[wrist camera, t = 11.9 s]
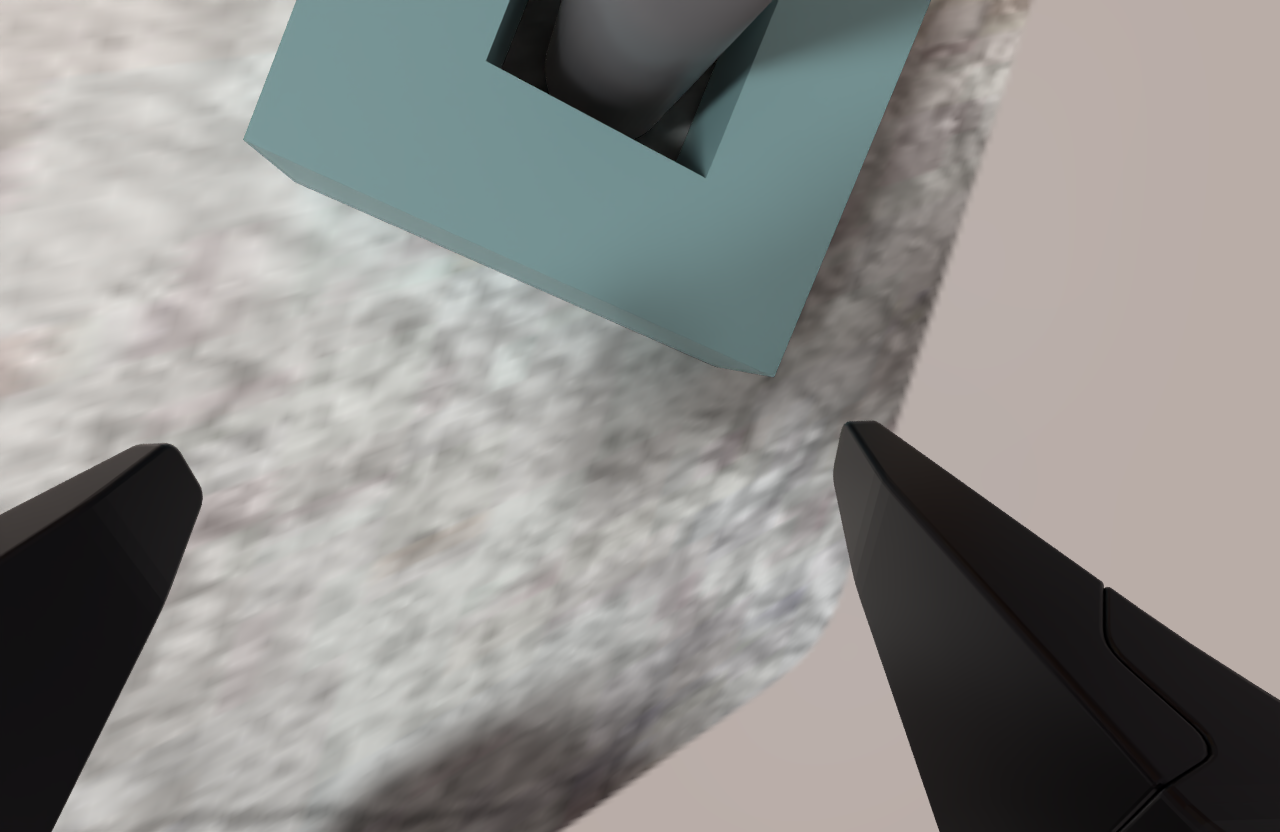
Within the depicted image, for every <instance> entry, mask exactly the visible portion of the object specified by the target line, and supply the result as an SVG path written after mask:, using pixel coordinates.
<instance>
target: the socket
mask: <svg viewBox="0 0 1280 832" xmlns="http://www.w3.org/2000/svg"><path fill="white" fill-rule="evenodd" d="M930 1H931V0H773V1H772V2H771V3H770V4H769V5H768V6H767V7H766V8H765V9H764V10H763V11H762V12H761V13H760V14H759V15H758V16H757V17H756V18H755V20H754V21H753V22H752V23H751V24H750V25H749V26H748V27H747V28H746V29H745V30H744V31H743V32H742V33H741V34H740V35H739V36H738V37H737V38H736V40H735V41H734V42H733V43H732V44H731V45H730V46H729V47H728V48H727V49H726V50H725V51H724V52H723V53H722V54H721V55H720V56H719V57H718V60H717V62H716V65H715V67H714V70H713V72H712V75H711V77H710V79H709V82H708V84H707V87H706V89H705V92H704V94H703V97H702V99H701V102H700V104H699V107H698V109H697V111H696V114H695V116H694V119H693V121H692V124H691V126H690V129H689V131H688V134H687V136H686V139H685V141H684V143H683V146H682V148H681V151H680V153H679V156H678V158H677V161H676V162H674V161H672V160H671V159H669V158H667V157H665V156H663V155H661V154H659V153H657V152H656V151H654V150H652V149H650V148H648V147H646V146H644V145H642V144H641V143H639V142H637V141H635V140H633V139H631V138H629V137H627V136H626V135H624V134H622V133H620V132H618V131H616V130H614V129H612V128H611V127H609V126H607V125H605V124H603V123H601V122H599V121H597V120H596V119H594V118H592V117H590V116H588V115H586V114H584V113H582V112H581V111H579V110H577V109H575V108H573V107H571V106H569V105H567V104H566V103H564V102H562V101H560V100H558V99H556V98H554V97H552V96H551V95H549V94H547V93H545V92H543V91H541V90H539V89H537V88H536V87H534V86H532V85H530V84H528V83H526V82H524V81H522V80H521V79H519V78H517V77H515V76H513V75H511V74H509V73H507V72H506V71H504V70H502V69H501V67H502V65H503V62H504V60H505V57H506V55H507V52H508V50H509V47H510V45H511V42H512V40H513V37H514V35H515V32H516V30H517V27H518V24H519V22H520V19H521V17H522V14H523V12H524V9H525V7H526V4H527V2H528V0H296V3H295V6H294V8H293V11H292V14H291V16H290V19H289V21H288V24H287V27H286V29H285V32H284V34H283V37H282V40H281V42H280V45H279V47H278V50H277V53H276V55H275V58H274V61H273V63H272V66H271V68H270V71H269V74H268V76H267V79H266V81H265V84H264V87H263V89H262V92H261V94H260V97H259V100H258V102H257V105H256V108H255V110H254V113H253V115H252V118H251V121H250V123H249V126H248V128H247V131H246V134H245V136H244V139H243V140H244V141H245V142H246V143H248V144H249V145H250V146H251V147H253V148H254V149H255V150H256V151H257V152H259V153H260V154H261V155H262V156H264V157H265V158H266V159H267V160H268V161H270V162H271V163H272V164H273V165H275V166H276V167H277V168H278V169H280V170H281V171H282V172H283V173H284V174H286V175H287V176H288V177H289V178H291V179H292V180H293V181H294V182H296V183H298V184H301V185H303V186H305V187H307V188H310V189H312V190H314V191H317V192H319V193H321V194H323V195H326V196H328V197H330V198H332V199H335V200H337V201H339V202H342V203H344V204H346V205H348V206H351V207H353V208H355V209H358V210H360V211H362V212H364V213H367V214H369V215H371V216H373V217H376V218H378V219H380V220H383V221H385V222H387V223H389V224H392V225H394V226H396V227H399V228H401V229H403V230H405V231H408V232H410V233H412V234H414V235H417V236H419V237H421V238H424V239H426V240H428V241H430V242H433V243H435V244H437V245H439V246H442V247H444V248H446V249H449V250H451V251H453V252H455V253H458V254H460V255H462V256H465V257H467V258H469V259H471V260H474V261H476V262H478V263H480V264H483V265H485V266H487V267H490V268H492V269H494V270H496V271H499V272H501V273H503V274H506V275H508V276H510V277H512V278H515V279H517V280H519V281H521V282H524V283H526V284H528V285H531V286H533V287H535V288H537V289H540V290H542V291H544V292H547V293H549V294H551V295H553V296H556V297H558V298H560V299H562V300H565V301H567V302H569V303H572V304H574V305H576V306H578V307H581V308H583V309H585V310H587V311H590V312H592V313H594V314H597V315H599V316H601V317H603V318H606V319H608V320H610V321H613V322H615V323H617V324H619V325H622V326H624V327H626V328H628V329H631V330H633V331H635V332H638V333H640V334H642V335H644V336H647V337H649V338H651V339H654V340H656V341H658V342H660V343H663V344H665V345H667V346H669V347H672V348H674V349H676V350H679V351H681V352H683V353H685V354H688V355H690V356H692V357H694V358H697V359H699V360H701V361H704V362H706V363H708V364H710V365H713V366H715V367H720V368H725V369H731V370H736V371H742V372H748V373H753V374H759V375H764V376H770V377H774V376H775V374H776V372H777V369H778V367H779V364H780V362H781V360H782V357H783V355H784V352H785V350H786V348H787V345H788V343H789V340H790V338H791V336H792V333H793V331H794V328H795V326H796V323H797V321H798V319H799V316H800V314H801V311H802V309H803V307H804V304H805V302H806V299H807V297H808V295H809V292H810V290H811V287H812V285H813V283H814V280H815V278H816V275H817V273H818V271H819V268H820V266H821V263H822V261H823V259H824V256H825V254H826V251H827V249H828V247H829V244H830V242H831V239H832V237H833V235H834V232H835V230H836V227H837V225H838V223H839V220H840V218H841V215H842V213H843V211H844V208H845V206H846V203H847V201H848V199H849V196H850V194H851V191H852V189H853V186H854V184H855V182H856V179H857V177H858V174H859V172H860V170H861V167H862V165H863V162H864V160H865V158H866V155H867V153H868V150H869V148H870V146H871V143H872V141H873V138H874V136H875V134H876V131H877V129H878V126H879V124H880V122H881V119H882V117H883V114H884V112H885V110H886V107H887V105H888V102H889V100H890V98H891V95H892V93H893V90H894V88H895V86H896V83H897V81H898V78H899V76H900V74H901V71H902V69H903V66H904V64H905V62H906V59H907V57H908V54H909V52H910V49H911V47H912V45H913V42H914V40H915V37H916V35H917V33H918V30H919V28H920V25H921V23H922V21H923V18H924V16H925V13H926V11H927V9H928V6H929V4H930Z"/></svg>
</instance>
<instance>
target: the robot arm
mask: <svg viewBox="0 0 1280 832" xmlns="http://www.w3.org/2000/svg"><path fill="white" fill-rule="evenodd" d="M833 480H834V487H835V492H836V496H837V501H838V506H839V511H840V515H841V520H842V525H843V530H844V534H845V539H846V544H847V549H848V554H849V558H850V563H851V568H852V572H853V576H854V580H855V584H856V587H857V591H858V594H859V597H860V600H861V603H862V606H863V609H864V612H865V615H866V618H867V620H868V624H869V626H870V629H871V632H872V635H873V638H874V641H875V644H876V647H877V650H878V653H879V656H880V659H881V662H882V664H883V667H884V670H885V673H886V676H887V679H888V682H889V685H890V688H891V691H892V694H893V697H894V700H895V703H896V706H897V708H898V711H899V714H900V717H901V720H902V723H903V726H904V729H905V732H906V735H907V738H908V741H909V743H910V746H911V750H912V752H913V755H914V758H915V761H916V764H917V767H918V770H919V773H920V776H921V779H922V782H923V785H924V788H925V790H926V793H927V796H928V799H929V802H930V805H931V808H932V811H933V814H934V817H935V820H936V823H937V826H938V828H939V831H940V832H1280V700H1279V699H1277V698H1276V697H1274V696H1272V695H1271V694H1269V693H1268V692H1266V691H1264V690H1263V689H1261V688H1259V687H1258V686H1256V685H1255V684H1253V683H1252V682H1250V681H1248V680H1247V679H1245V678H1244V677H1242V676H1241V675H1239V674H1237V673H1236V672H1234V671H1233V670H1231V669H1230V668H1228V667H1226V666H1225V665H1223V664H1222V663H1220V662H1219V661H1217V660H1216V659H1214V658H1213V657H1211V656H1209V655H1208V654H1206V653H1205V652H1203V651H1202V650H1200V649H1199V648H1197V647H1195V646H1194V645H1192V644H1190V643H1189V642H1188V641H1186V640H1185V639H1184V638H1182V637H1181V636H1179V635H1178V634H1176V633H1175V632H1173V631H1172V630H1170V629H1169V628H1167V627H1166V626H1165V625H1163V624H1162V623H1160V622H1159V621H1157V620H1156V619H1154V618H1153V617H1151V616H1150V615H1148V614H1147V613H1146V612H1144V611H1143V610H1141V609H1140V608H1138V607H1137V606H1136V605H1134V604H1133V603H1131V602H1130V601H1129V600H1127V599H1126V598H1124V597H1123V596H1122V595H1120V594H1119V593H1117V592H1116V591H1114V590H1113V589H1112V588H1110V587H1106V588H1104V585H1103V582H1102V581H1100V580H1099V579H1097V578H1096V577H1095V576H1093V575H1092V574H1090V573H1089V572H1088V571H1086V570H1085V569H1083V568H1082V567H1081V566H1079V565H1078V564H1076V563H1075V562H1074V561H1072V560H1071V559H1069V558H1068V557H1066V556H1065V555H1064V554H1062V553H1061V552H1059V551H1058V550H1057V549H1055V548H1054V547H1052V546H1051V545H1050V544H1048V543H1047V542H1045V541H1044V540H1043V539H1041V538H1040V537H1038V536H1037V535H1036V534H1034V533H1033V532H1031V531H1030V530H1029V529H1027V528H1026V527H1024V526H1023V525H1021V524H1020V523H1019V522H1017V521H1016V520H1015V519H1013V518H1012V517H1010V516H1009V515H1008V514H1006V513H1005V512H1003V511H1002V510H1000V509H999V508H998V507H996V506H995V505H994V504H992V503H991V502H989V501H988V500H986V499H985V498H984V497H982V496H981V495H980V494H978V493H977V492H975V491H974V490H972V489H971V488H970V487H968V486H967V485H965V484H964V483H963V482H961V481H960V480H958V479H957V478H955V477H954V476H953V475H951V474H950V473H949V472H947V471H946V470H944V469H943V468H942V467H940V466H939V465H937V464H936V463H935V462H933V461H932V460H930V459H929V458H928V457H926V456H925V455H923V454H922V453H921V452H919V451H918V450H916V449H915V448H914V447H912V446H911V445H909V444H908V443H907V442H905V441H903V440H902V439H901V438H900V437H898V436H897V435H895V434H894V433H893V432H891V431H890V430H888V429H887V428H885V427H884V426H883V425H881V424H880V423H878V422H876V421H849V422H847V423H845V424H844V425H843V427H842V430H841V434H840V438H839V443H838V448H837V453H836V458H835V463H834V469H833ZM202 500H203V495H202V489H201V487H200V484H199V483H198V481H197V479H196V478H195V476H194V474H193V473H192V471H191V469H190V468H189V466H188V464H187V462H186V461H185V459H184V457H183V456H182V454H181V452H180V451H179V450H178V449H177V448H176V447H175V446H173V445H171V444H167V443H156V444H139V445H135V446H133V447H131V448H129V449H127V450H125V451H123V452H121V453H119V454H117V455H115V456H113V457H112V458H110V459H108V460H106V461H104V462H102V463H100V464H98V465H96V466H94V467H92V468H90V469H88V470H86V471H84V472H82V473H80V474H78V475H77V476H75V477H73V478H71V479H69V480H67V481H65V482H63V483H61V484H59V485H57V486H55V487H53V488H51V489H49V490H47V491H45V492H43V493H41V494H40V495H38V496H36V497H34V498H32V499H30V500H28V501H26V502H24V503H22V504H20V505H18V506H16V507H14V508H12V509H10V510H8V511H6V512H5V513H3V514H1V515H0V832H52V830H53V828H54V826H55V824H56V822H57V820H58V818H59V816H60V814H61V812H62V810H63V808H64V806H65V804H66V802H67V800H68V798H69V796H70V794H71V792H72V790H73V788H74V786H75V784H76V782H77V780H78V778H79V776H80V774H81V772H82V770H83V768H84V766H85V764H86V762H87V760H88V758H89V756H90V754H91V752H92V750H93V748H94V746H95V744H96V742H97V740H98V738H99V736H100V734H101V732H102V730H103V728H104V726H105V724H106V722H107V720H108V718H109V716H110V714H111V712H112V710H113V708H114V705H115V703H116V701H117V699H118V697H119V695H120V693H121V691H122V689H123V687H124V685H125V683H126V681H127V679H128V677H129V675H130V673H131V671H132V669H133V667H134V665H135V663H136V661H137V659H138V657H139V655H140V653H141V651H142V649H143V647H144V645H145V643H146V641H147V639H148V637H149V635H150V633H151V631H152V629H153V627H154V625H155V623H156V621H157V619H158V617H159V615H160V613H161V610H162V608H163V606H164V604H165V602H166V599H167V597H168V594H169V592H170V589H171V587H172V584H173V581H174V578H175V576H176V573H177V570H178V568H179V565H180V562H181V560H182V557H183V554H184V552H185V549H186V546H187V543H188V541H189V538H190V535H191V533H192V530H193V527H194V525H195V522H196V519H197V517H198V514H199V511H200V508H201V505H202Z"/></svg>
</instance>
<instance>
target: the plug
mask: <svg viewBox="0 0 1280 832" xmlns="http://www.w3.org/2000/svg"><path fill="white" fill-rule="evenodd" d="M772 1H773V0H562V2H561V5H560V9H559V12H558V15H557V19H556V22H555V26H554V29H553V32H552V36H551V39H550V42H549V46H548V50H547V54H546V60H545V76H546V83H547V87H548V91H549V94H550V95H551V96H552V97H554V98H556V99H558V100H560V101H562V102H564V103H566V104H567V105H569V106H571V107H573V108H575V109H577V110H579V111H581V112H582V113H584V114H586V115H588V116H590V117H592V118H594V119H596V120H597V121H599V122H601V123H603V124H605V125H607V126H609V127H611V128H612V129H614V130H616V131H618V132H620V133H622V134H624V135H626V136H627V137H629V138H631V139H636V138H638V137H640V136H641V135H643V134H645V133H646V132H647V131H649V130H650V129H651V128H652V127H653V126H654V125H655V124H656V123H657V122H658V121H659V120H660V118H661V117H662V116H663V115H664V114H665V113H666V112H667V111H668V110H669V109H670V108H671V107H672V106H673V105H674V104H675V103H676V102H677V101H678V100H679V98H680V97H681V96H682V95H683V94H684V93H685V92H686V91H687V90H688V89H689V88H690V87H691V86H692V85H693V84H694V83H695V82H696V81H697V80H698V78H699V77H700V76H701V75H702V74H703V73H704V72H705V71H706V70H707V69H708V68H709V67H710V66H711V65H712V64H713V63H714V62H715V61H716V60H717V58H718V57H719V56H720V55H721V54H722V53H723V52H724V51H725V50H726V49H727V48H728V47H729V46H730V45H731V44H732V43H733V42H734V41H735V40H736V38H737V37H738V36H739V35H740V34H741V33H742V32H743V31H744V30H745V29H746V28H747V27H748V26H749V25H750V24H751V23H752V22H753V21H754V20H755V18H756V17H757V16H758V15H759V14H760V13H761V12H762V11H763V10H764V9H765V8H766V7H767V6H768V5H769V4H770V3H771V2H772Z"/></svg>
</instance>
